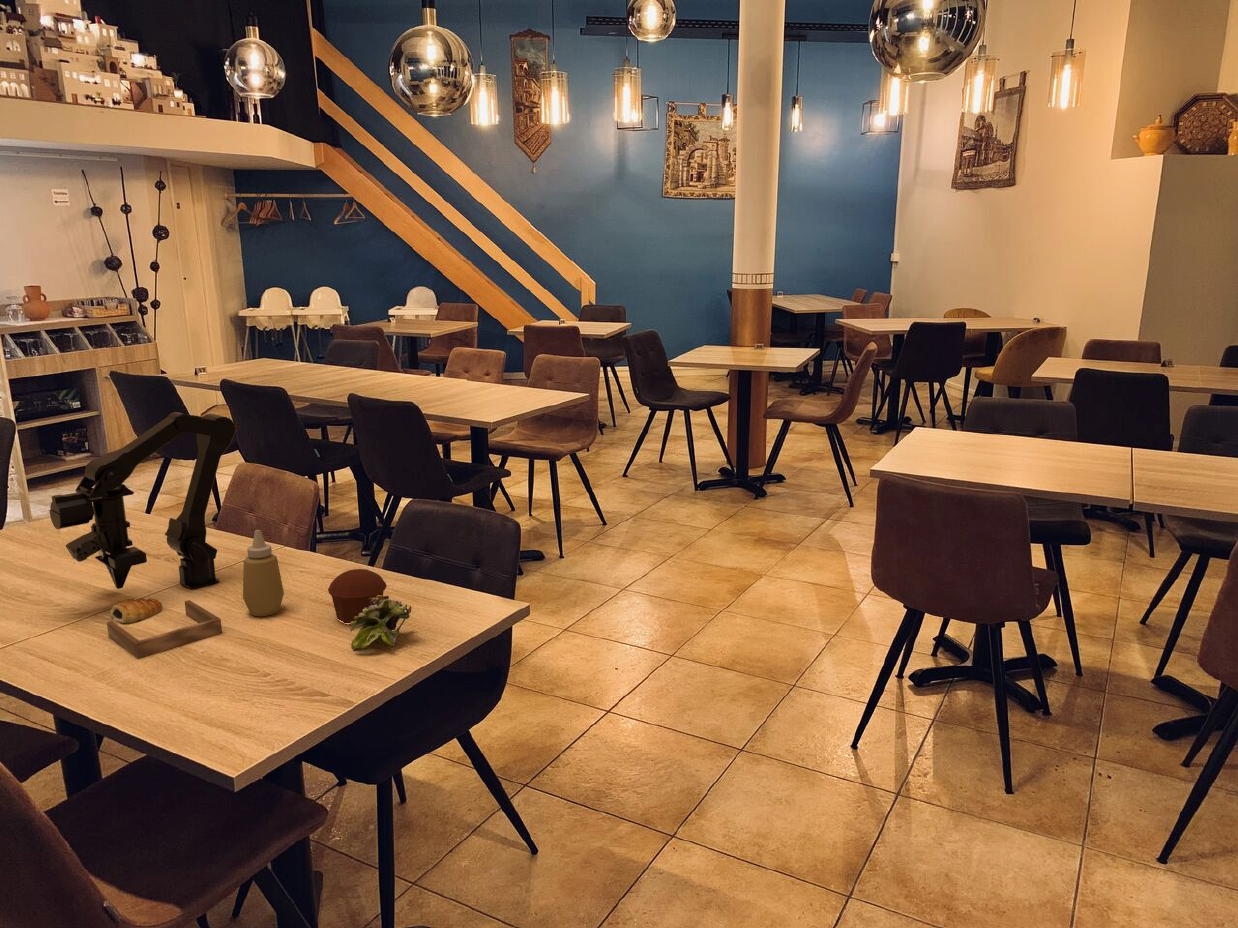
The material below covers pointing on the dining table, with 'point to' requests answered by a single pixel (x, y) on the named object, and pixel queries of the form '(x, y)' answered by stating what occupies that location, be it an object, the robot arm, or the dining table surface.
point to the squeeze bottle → (261, 579)
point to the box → (169, 633)
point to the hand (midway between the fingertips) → (119, 588)
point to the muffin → (355, 592)
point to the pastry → (135, 610)
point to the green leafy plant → (379, 621)
